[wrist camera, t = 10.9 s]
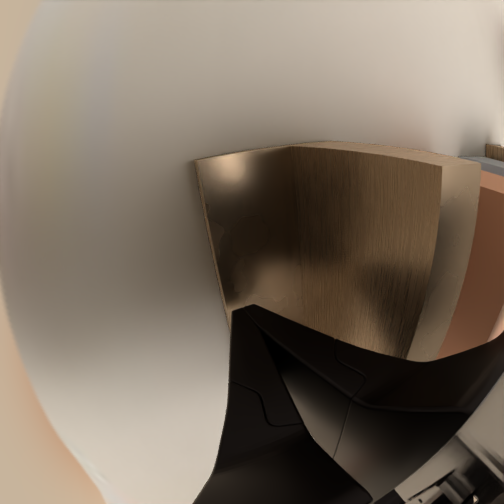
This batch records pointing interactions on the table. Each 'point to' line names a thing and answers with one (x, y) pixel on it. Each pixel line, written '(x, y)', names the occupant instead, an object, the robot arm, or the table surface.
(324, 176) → the bookend slide
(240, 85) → the table surface
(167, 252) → the table surface
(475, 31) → the table surface
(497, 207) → the rust book
